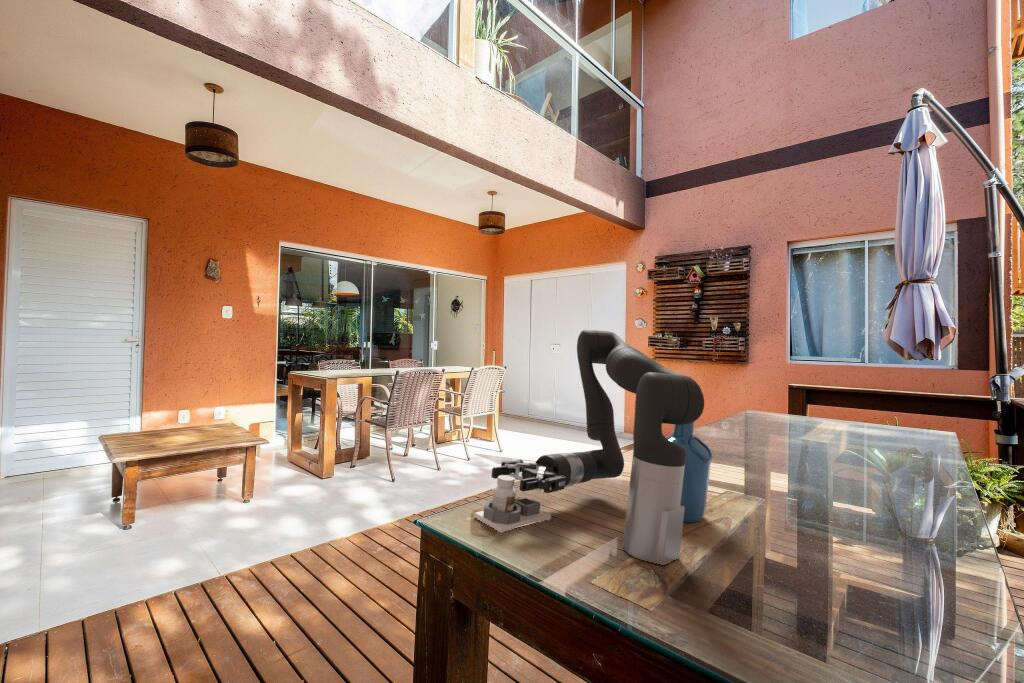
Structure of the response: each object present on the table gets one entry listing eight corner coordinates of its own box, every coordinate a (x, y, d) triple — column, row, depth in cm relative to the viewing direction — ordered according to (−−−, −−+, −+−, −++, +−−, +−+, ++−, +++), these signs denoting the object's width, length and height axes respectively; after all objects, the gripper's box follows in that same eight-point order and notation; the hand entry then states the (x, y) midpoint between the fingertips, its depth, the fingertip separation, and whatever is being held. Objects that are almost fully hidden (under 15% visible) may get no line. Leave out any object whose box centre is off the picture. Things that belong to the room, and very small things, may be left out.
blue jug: (634, 507, 107) (648, 383, 107) (663, 499, 116) (676, 384, 116) (689, 529, 97) (704, 391, 97) (716, 519, 106) (730, 392, 106)
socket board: (550, 519, 94) (552, 505, 94) (500, 532, 84) (502, 516, 84) (523, 506, 99) (525, 493, 99) (474, 517, 90) (476, 502, 90)
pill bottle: (510, 522, 87) (514, 482, 87) (488, 517, 88) (493, 478, 88) (514, 514, 91) (519, 476, 91) (493, 510, 92) (498, 472, 92)
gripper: (538, 446, 106) (486, 451, 95) (586, 462, 96) (533, 470, 85) (534, 478, 106) (482, 487, 95) (582, 497, 96) (529, 510, 85)
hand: (506, 479), depth 90 cm, fingers open, 8 cm apart
